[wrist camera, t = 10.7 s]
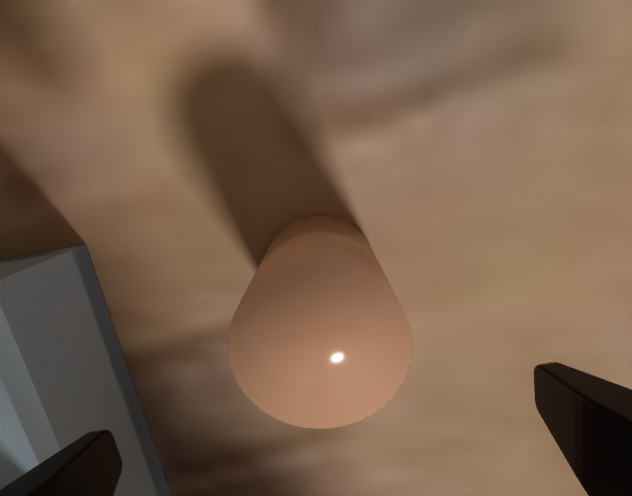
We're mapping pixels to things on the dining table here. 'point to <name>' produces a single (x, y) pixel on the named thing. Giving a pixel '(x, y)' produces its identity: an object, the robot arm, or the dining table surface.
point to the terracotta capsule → (319, 328)
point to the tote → (66, 371)
